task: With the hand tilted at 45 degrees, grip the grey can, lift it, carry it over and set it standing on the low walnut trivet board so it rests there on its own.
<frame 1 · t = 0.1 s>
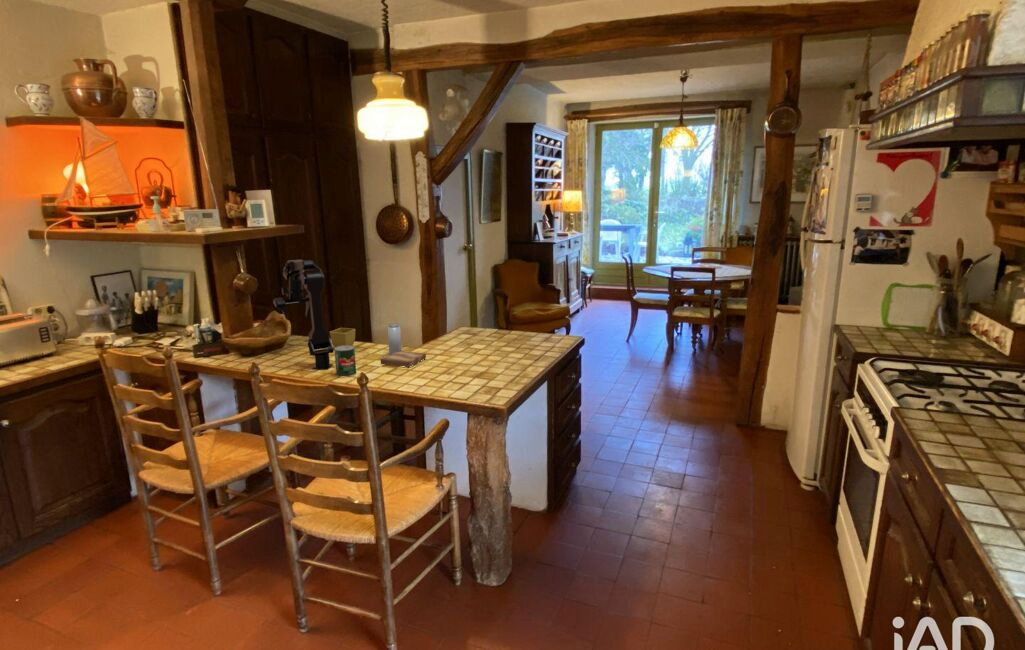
hand: (296, 317, 264), 15 cm above the counter, tool pointing down, fingers open, 9 cm apart
canned tomato: (346, 374, 231), on the counter
flower pot: (344, 349, 269), on the counter
grey can: (395, 354, 259), on the counter
board: (403, 361, 247), on the counter
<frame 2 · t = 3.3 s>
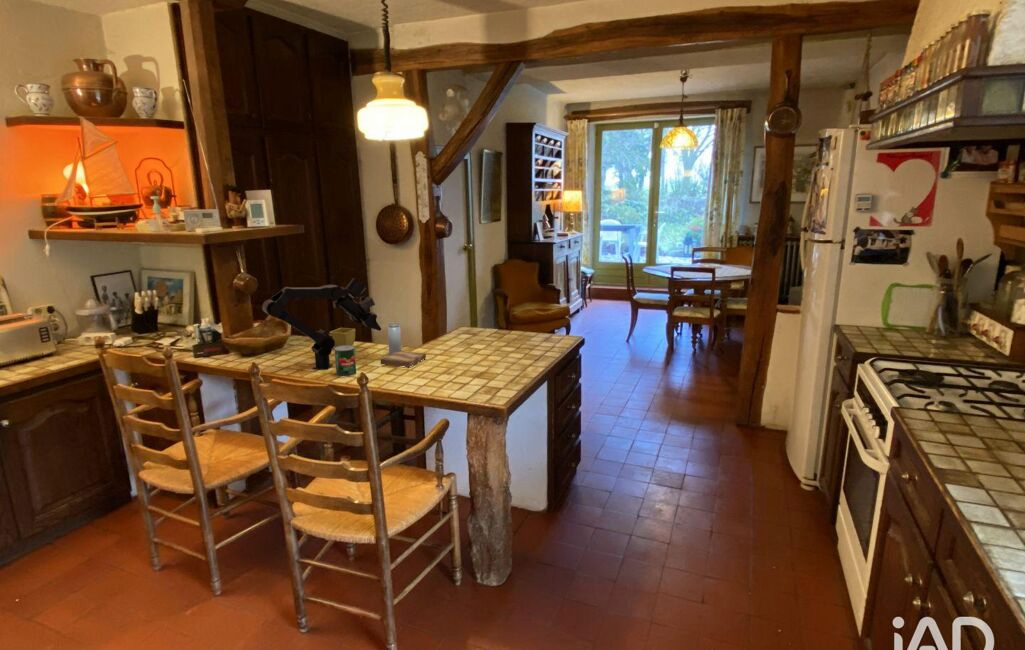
hand: (376, 328, 252), 13 cm above the counter, tool tilted 45°, fingers open, 9 cm apart
nothing on the counter moved.
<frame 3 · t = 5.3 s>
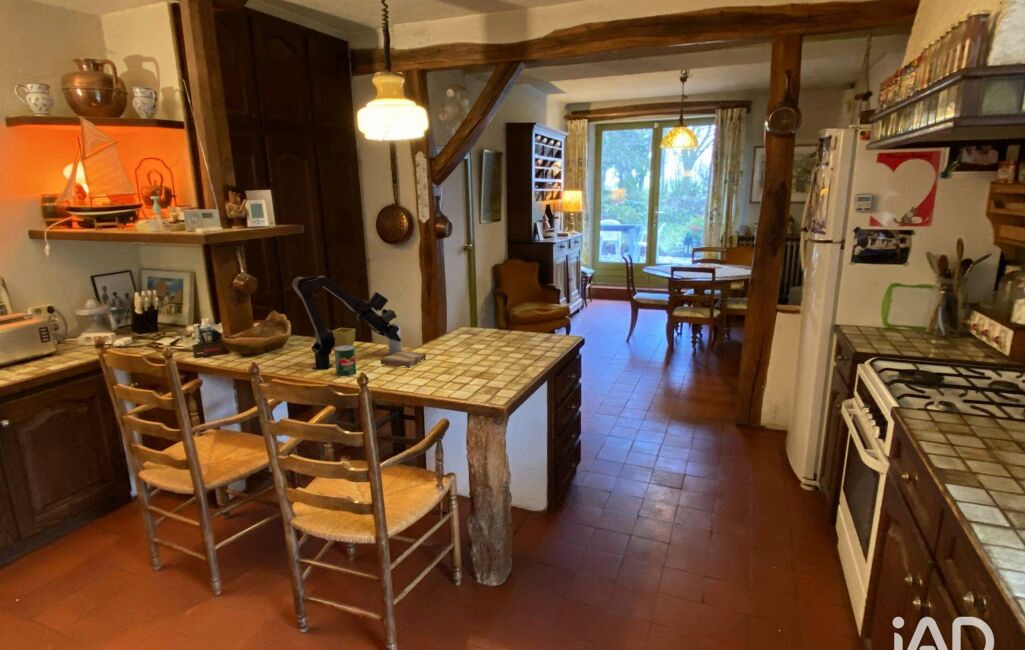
hand: (397, 339, 259), 7 cm above the counter, tool tilted 45°, fingers closed on grey can, 6 cm apart
grey can: (395, 354, 259), on the counter, touching gripper
everything else where it was.
when the fingers open (10 cm above the counter, at t = 8.4 s): grey can stays where it is, resting on board.
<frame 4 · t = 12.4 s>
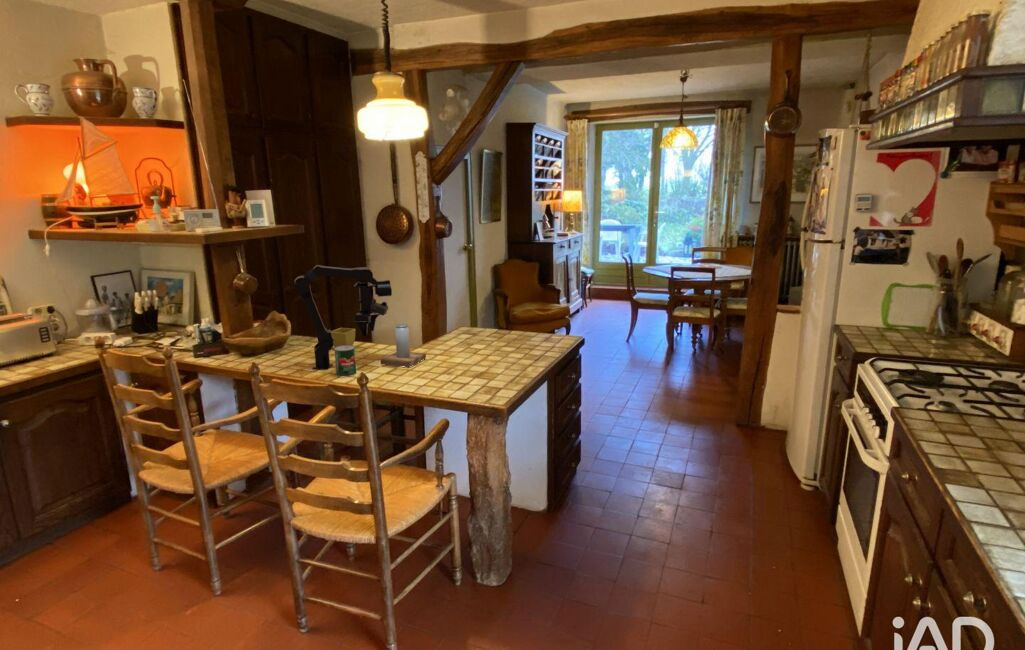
hand: (369, 333, 243), 13 cm above the counter, tool pointing down, fingers open, 9 cm apart
grey can: (403, 356, 247), point 3 cm above the counter, touching board
everything else where it was.
at the end: grey can inside the target area on the board (0.1 cm from its centre), point 2.6 cm above the board's base; grey can tilted 0°; the gripper is holding nothing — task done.
